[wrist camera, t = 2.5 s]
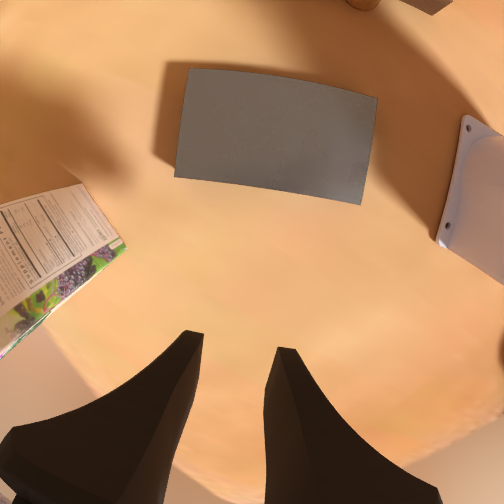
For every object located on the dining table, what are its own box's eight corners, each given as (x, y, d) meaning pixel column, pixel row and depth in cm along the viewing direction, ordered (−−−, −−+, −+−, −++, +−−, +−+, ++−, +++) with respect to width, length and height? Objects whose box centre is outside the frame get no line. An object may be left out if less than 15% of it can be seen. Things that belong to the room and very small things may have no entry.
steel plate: (348, 198, 17) (360, 205, 15) (185, 173, 17) (174, 177, 15) (363, 105, 15) (377, 98, 13) (199, 79, 15) (189, 68, 13)
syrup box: (83, 287, 20) (-43, 415, 6) (41, 226, 18) (-108, 310, 4) (130, 246, 18) (-31, 394, 5) (82, 177, 17) (-111, 241, 3)
